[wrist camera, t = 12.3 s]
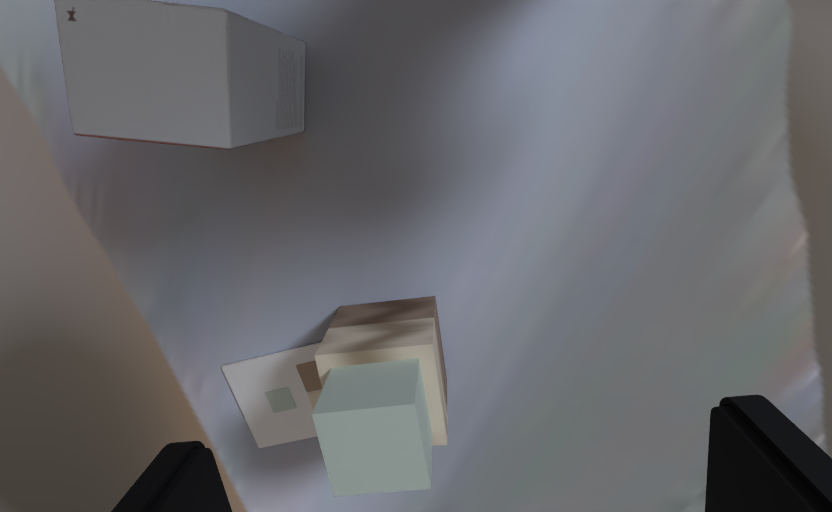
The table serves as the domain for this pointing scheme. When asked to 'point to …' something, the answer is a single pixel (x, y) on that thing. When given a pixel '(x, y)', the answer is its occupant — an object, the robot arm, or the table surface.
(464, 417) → the table surface
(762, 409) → the robot arm
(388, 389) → the sage brick
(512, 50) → the table surface
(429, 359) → the wood-grain cube
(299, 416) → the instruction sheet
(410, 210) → the table surface
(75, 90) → the small box
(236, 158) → the table surface
